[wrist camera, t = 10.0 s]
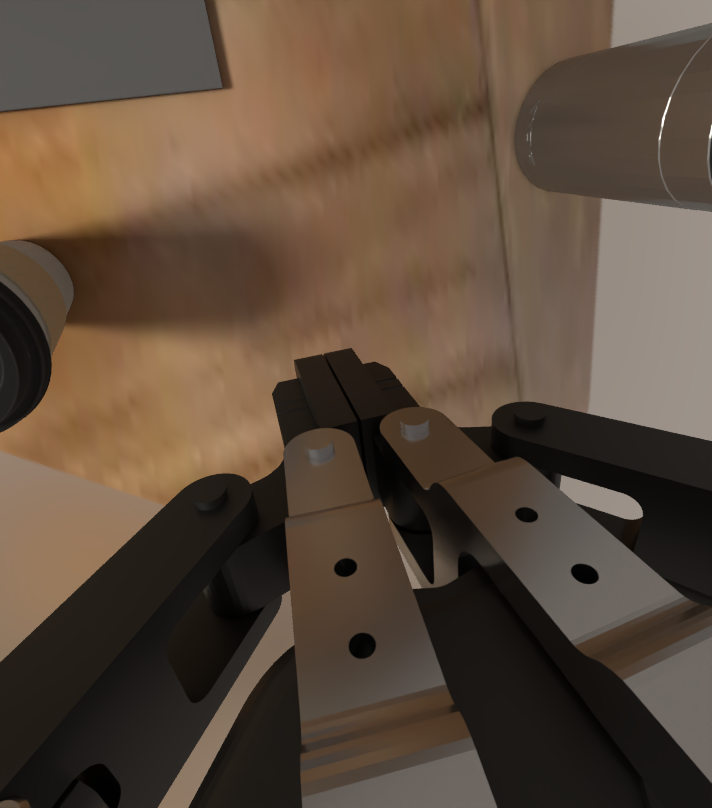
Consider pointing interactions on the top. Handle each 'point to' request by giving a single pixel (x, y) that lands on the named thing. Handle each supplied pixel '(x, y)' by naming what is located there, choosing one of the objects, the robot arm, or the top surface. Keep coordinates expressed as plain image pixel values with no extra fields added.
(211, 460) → the top surface
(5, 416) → the coffee cup
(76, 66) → the mat
